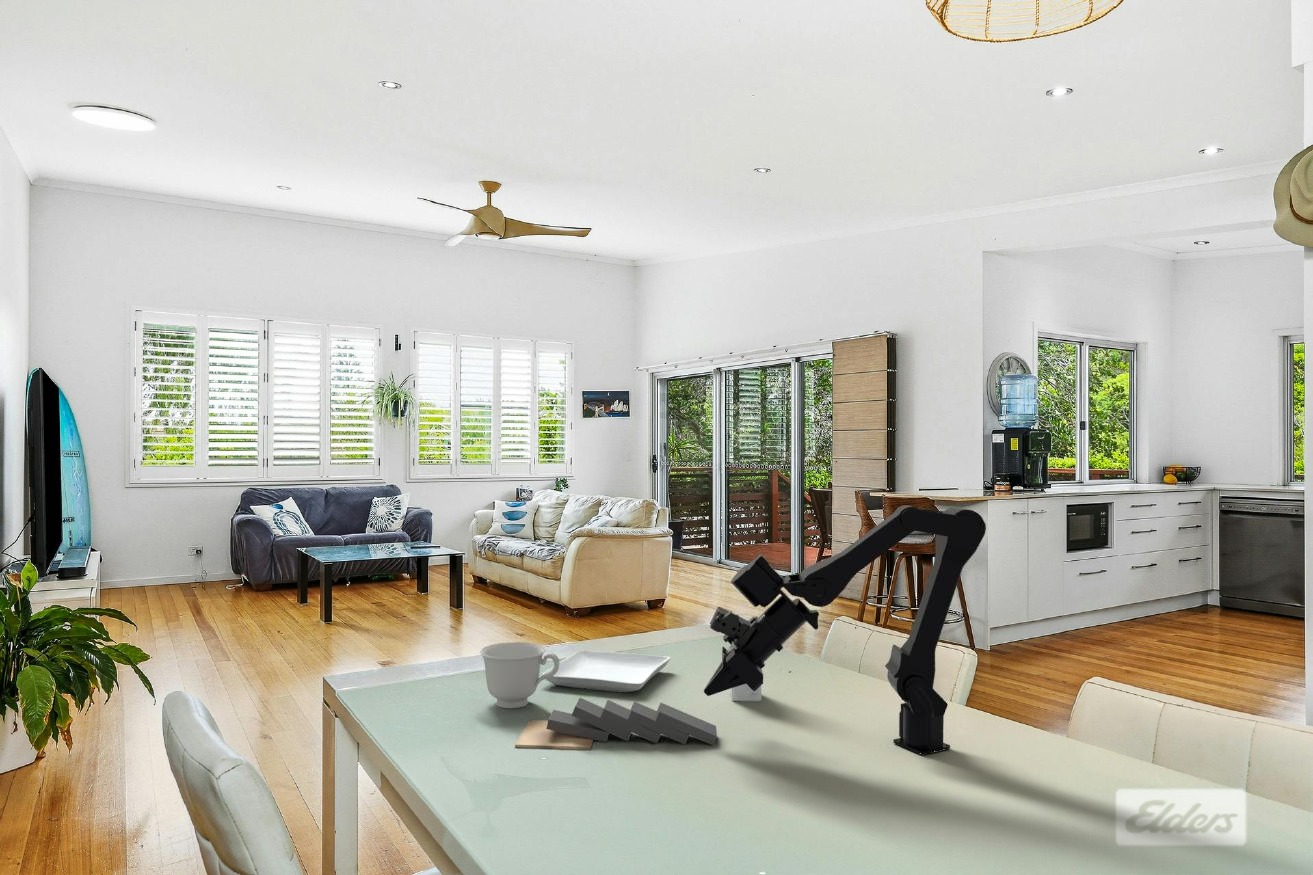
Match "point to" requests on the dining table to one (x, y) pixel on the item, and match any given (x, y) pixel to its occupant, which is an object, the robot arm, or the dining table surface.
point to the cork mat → (550, 738)
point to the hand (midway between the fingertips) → (705, 693)
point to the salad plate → (607, 670)
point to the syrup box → (745, 692)
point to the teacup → (515, 671)
